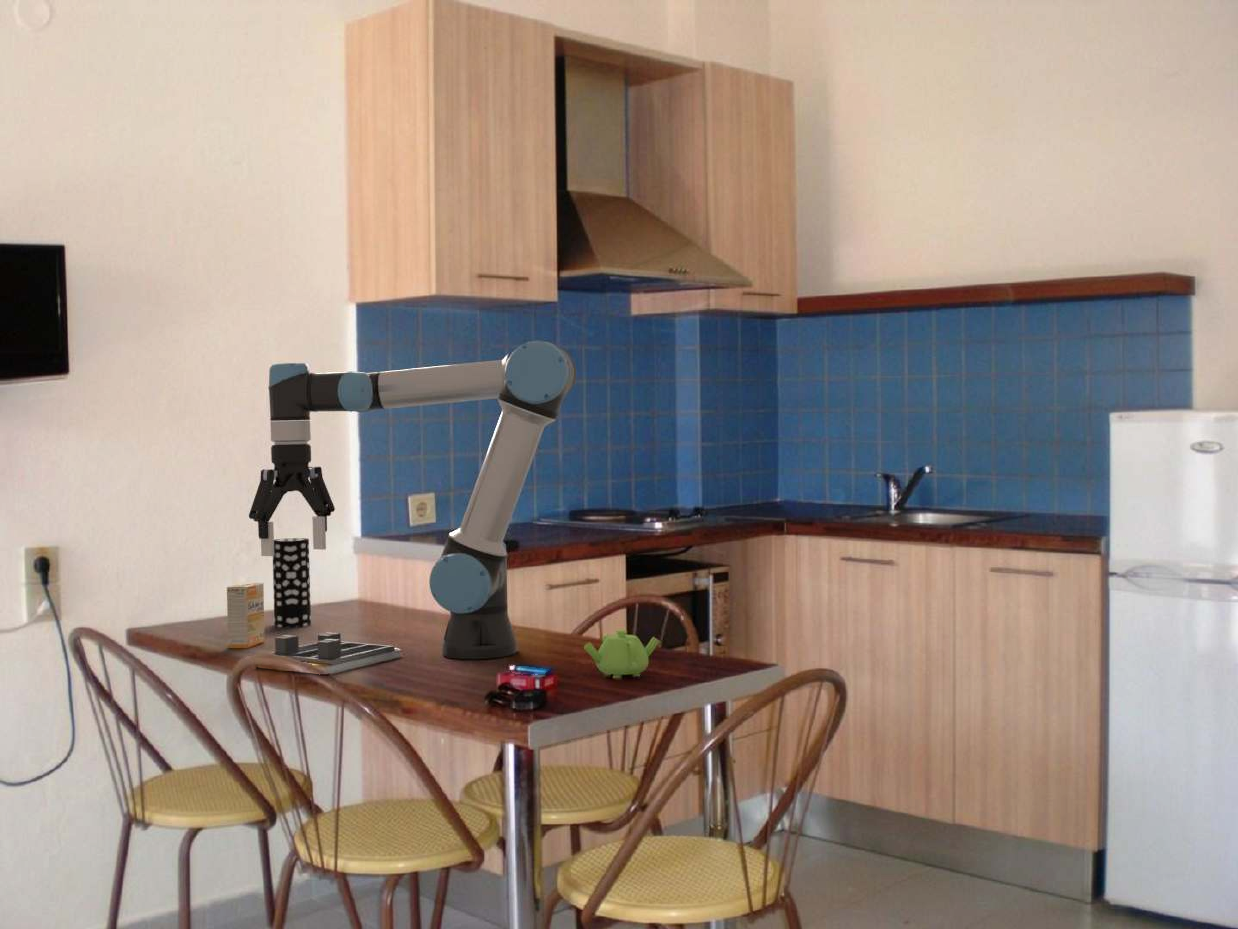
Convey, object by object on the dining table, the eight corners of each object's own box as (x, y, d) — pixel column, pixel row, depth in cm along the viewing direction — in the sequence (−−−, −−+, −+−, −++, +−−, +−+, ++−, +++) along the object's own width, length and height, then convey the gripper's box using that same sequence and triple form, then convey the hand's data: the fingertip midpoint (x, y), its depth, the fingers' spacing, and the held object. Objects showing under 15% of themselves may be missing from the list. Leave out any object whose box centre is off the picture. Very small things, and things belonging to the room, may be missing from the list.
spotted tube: (318, 623, 324) (316, 538, 324) (292, 628, 317) (290, 541, 317) (293, 621, 329) (290, 537, 328) (266, 626, 322) (264, 540, 321)
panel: (401, 657, 277) (401, 644, 277) (325, 675, 258) (324, 662, 258) (334, 650, 286) (333, 638, 286) (255, 668, 267) (255, 655, 267)
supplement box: (248, 649, 290) (246, 586, 290) (227, 648, 291) (225, 586, 291) (266, 642, 298) (264, 582, 298) (245, 642, 299) (243, 581, 299)
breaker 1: (298, 656, 270) (298, 634, 270) (285, 659, 267) (284, 637, 267) (289, 655, 272) (288, 634, 272) (275, 658, 269) (275, 636, 268)
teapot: (640, 684, 245) (639, 636, 244) (580, 680, 249) (579, 633, 249) (661, 672, 255) (661, 627, 255) (604, 669, 259) (603, 624, 259)
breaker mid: (340, 653, 273) (340, 632, 273) (328, 656, 270) (327, 634, 269) (331, 652, 274) (330, 631, 274) (318, 655, 271) (317, 634, 271)
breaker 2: (341, 660, 265) (340, 638, 265) (328, 663, 262) (327, 641, 262) (330, 659, 266) (330, 637, 266) (317, 662, 263) (317, 640, 263)
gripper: (323, 441, 280) (326, 546, 280) (227, 445, 259) (231, 558, 259) (350, 441, 276) (353, 547, 276) (255, 444, 255) (258, 559, 255)
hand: (294, 552), depth 268 cm, fingers open, 13 cm apart
